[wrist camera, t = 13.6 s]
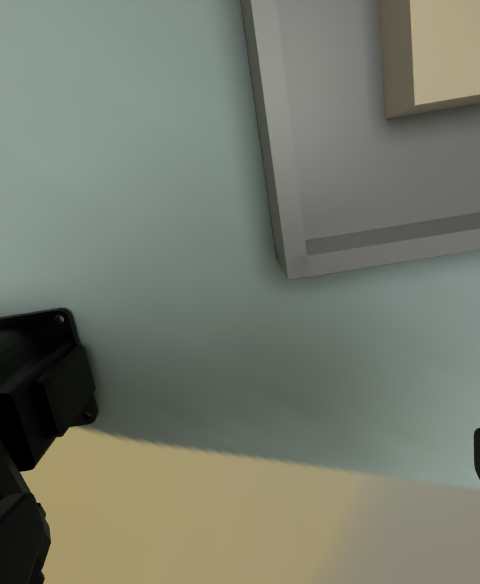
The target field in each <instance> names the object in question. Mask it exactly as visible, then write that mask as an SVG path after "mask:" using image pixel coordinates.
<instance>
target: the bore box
mask: <svg viewBox="0 0 480 584" xmlns="http://www.w3.org/2000/svg"><path fill="white" fill-rule="evenodd" d="M240 2H241V10H242V17H243V24H244V31H245V38H246V45H247V53H248V60H249V67H250V74H251V81H252V88H253V95H254V103H255V110H256V117H257V124H258V131H259V138H260V145H261V153H262V160H263V167H264V174H265V181H266V188H267V195H268V203H269V210H270V217H271V224H272V231H273V238H274V245H275V253H276V258H277V260H278V262H279V264H280V266H281V267H282V269H283V271H284V273H285V275H286V277H287V278H288V280H292V279H298V278H304V277H311V276H317V275H323V274H330V273H336V272H342V271H349V270H355V269H361V268H368V267H374V266H380V265H387V264H393V263H399V262H406V261H412V260H418V259H425V258H431V257H437V256H444V255H450V254H457V253H463V252H469V251H476V250H480V0H240Z"/></svg>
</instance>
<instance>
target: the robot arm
mask: <svg viewBox="0 0 480 584" xmlns="http://www.w3.org/2000/svg"><path fill="white" fill-rule="evenodd" d="M57 315H61V316H63V318H64V322H61V321H59V320H58V318H57ZM95 390H96V388H95V384H94V380H93V377H92V373H91V369H90V366H89V362H88V359H87V355H86V351H85V348H84V347H83V346H82V345H81V344H80V343H79V340H78V336H77V332H76V329H75V325H74V322H73V318H72V315H71V313H70V312H69V311H68V310H67V309H65V308H56V309H50V310H44V311H37V312H31V313H25V314H18V315H12V316H6V317H0V584H43V582H44V579H45V578H44V575H43V573H42V571H41V570H42V568H43V565H44V562H45V559H46V556H47V553H48V550H49V547H50V544H51V538H50V529H49V525H48V523H47V522H46V520H45V516H46V513H45V511H44V510H43V508H42V506H41V504H40V503H37V502H36V499H35V497H34V495H33V494H32V493H31V492H30V490H29V488H28V486H27V485H26V483H25V481H24V479H23V477H22V475H21V474H20V472H21V471H28V470H32V469H34V467H35V466H36V465H37V463H38V462H39V460H40V459H41V458H42V456H43V455H44V454H45V452H46V451H47V449H48V448H49V446H50V445H51V444H52V443H53V441H54V440H55V438H56V437H62V436H63V435H64V434H65V432H66V431H67V430H68V428H69V427H73V426H80V425H87V424H91V423H93V422H94V421H95V420H96V418H97V416H98V408H97V404H96V401H95V397H94V394H93V393H94V391H95ZM85 412H89V413H90V414H91V416H87V415H86V414H85ZM474 465H475V470H476V473H477V475H478V477H479V479H480V428H477V429H476V430H475V432H474Z"/></svg>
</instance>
